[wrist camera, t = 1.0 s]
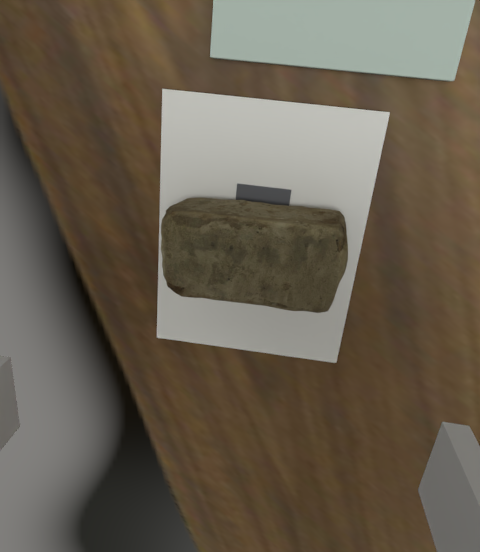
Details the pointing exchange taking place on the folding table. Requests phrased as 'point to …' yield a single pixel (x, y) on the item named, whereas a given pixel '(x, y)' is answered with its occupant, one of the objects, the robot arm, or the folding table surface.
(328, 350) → the board
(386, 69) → the sage pad
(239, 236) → the stone block
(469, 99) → the folding table surface
